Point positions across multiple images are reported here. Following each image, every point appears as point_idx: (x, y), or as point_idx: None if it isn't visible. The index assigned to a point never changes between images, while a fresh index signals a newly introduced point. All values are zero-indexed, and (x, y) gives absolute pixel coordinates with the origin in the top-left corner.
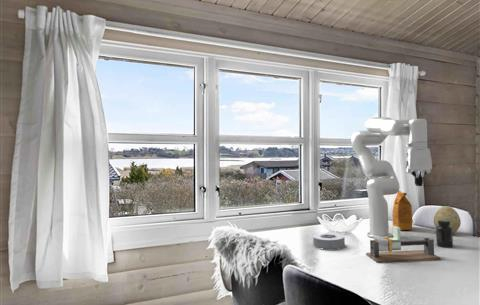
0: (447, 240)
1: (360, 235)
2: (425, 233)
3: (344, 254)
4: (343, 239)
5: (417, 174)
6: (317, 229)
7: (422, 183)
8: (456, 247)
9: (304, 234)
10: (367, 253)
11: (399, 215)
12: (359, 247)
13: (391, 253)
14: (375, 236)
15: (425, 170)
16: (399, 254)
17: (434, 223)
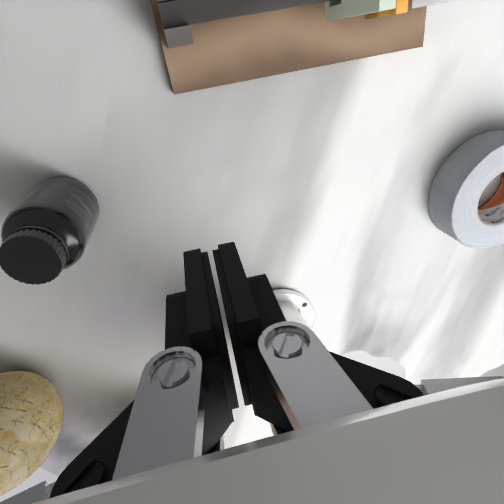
0: (50, 185)
1: (329, 323)
2: (106, 374)
3: (485, 58)
4: (465, 171)
5: (297, 371)
6: (421, 373)
7: (171, 295)
8: (18, 182)
9: (479, 316)
10: (422, 33)
11: None
12: (393, 166)
13: (331, 31)
14: (299, 295)
15: (82, 489)
16: (306, 10)
17: (62, 412)
